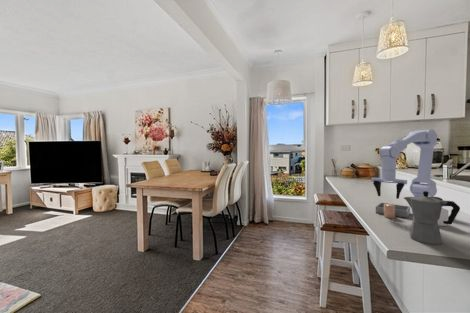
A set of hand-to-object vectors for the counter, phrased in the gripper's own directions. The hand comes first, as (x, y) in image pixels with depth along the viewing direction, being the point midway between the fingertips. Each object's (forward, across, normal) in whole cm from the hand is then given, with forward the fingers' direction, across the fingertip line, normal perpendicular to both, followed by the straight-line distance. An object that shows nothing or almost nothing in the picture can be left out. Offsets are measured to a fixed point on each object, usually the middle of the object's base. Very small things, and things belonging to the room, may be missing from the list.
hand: (388, 197), depth 106 cm
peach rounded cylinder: (+10, 0, 0) cm, 10 cm away
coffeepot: (+10, +17, -23) cm, 31 cm away
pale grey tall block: (+10, +16, +4) cm, 20 cm away
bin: (+10, 0, +10) cm, 14 cm away
